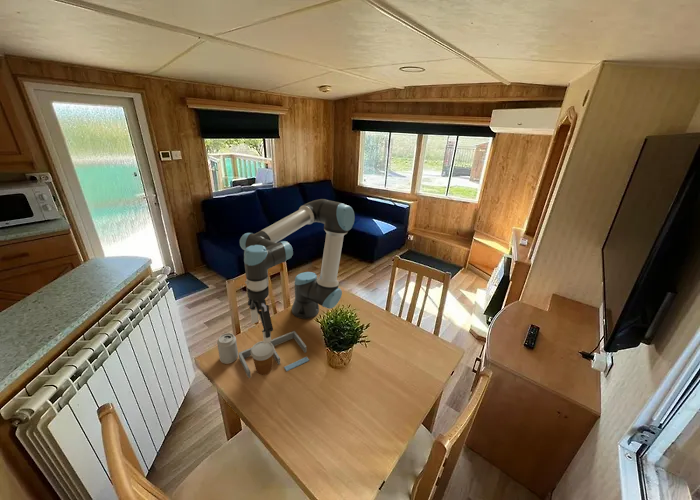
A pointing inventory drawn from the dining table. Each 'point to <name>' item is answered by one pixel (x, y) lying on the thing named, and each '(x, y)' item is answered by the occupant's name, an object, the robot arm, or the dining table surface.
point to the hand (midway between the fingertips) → (260, 331)
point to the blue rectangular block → (296, 364)
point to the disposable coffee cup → (263, 357)
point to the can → (227, 348)
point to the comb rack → (275, 342)
